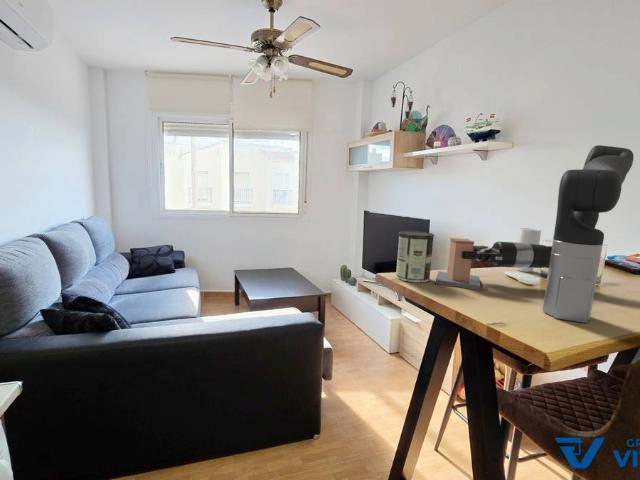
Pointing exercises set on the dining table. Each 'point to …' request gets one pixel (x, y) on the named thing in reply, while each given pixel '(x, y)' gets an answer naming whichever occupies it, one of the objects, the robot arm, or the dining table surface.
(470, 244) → the tea tin
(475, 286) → the slate coaster
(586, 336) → the dining table surface
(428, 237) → the coffee can
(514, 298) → the dining table surface
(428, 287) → the dining table surface
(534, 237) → the drinking glass
